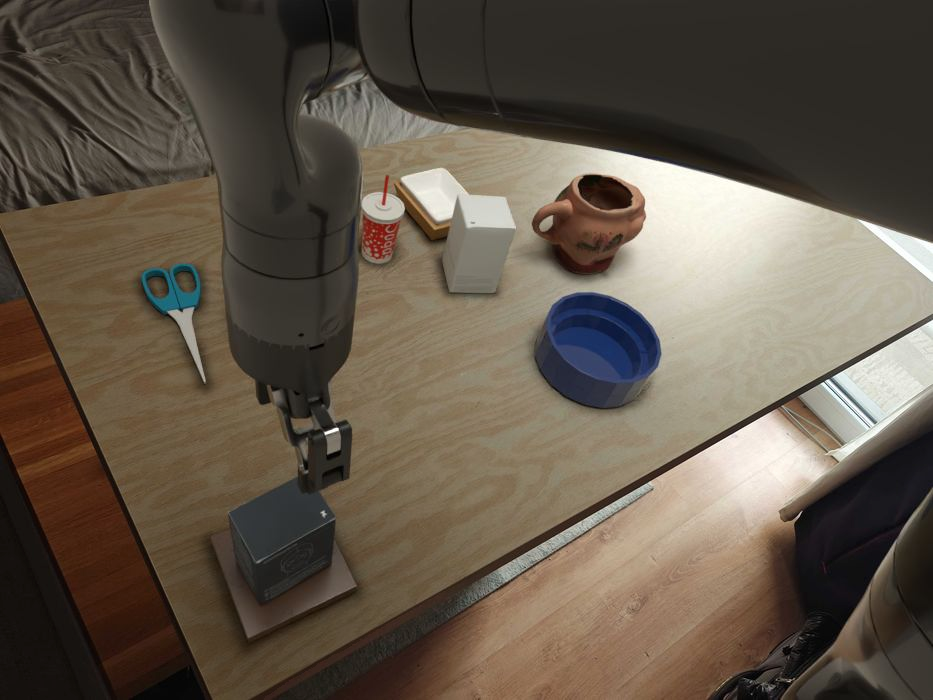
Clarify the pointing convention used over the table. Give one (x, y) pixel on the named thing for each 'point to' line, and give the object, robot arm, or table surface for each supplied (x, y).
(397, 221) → the beverage cup
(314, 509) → the box
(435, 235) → the soap dish
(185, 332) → the scissors
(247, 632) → the board
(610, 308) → the bowl
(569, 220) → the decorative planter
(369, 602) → the table surface
